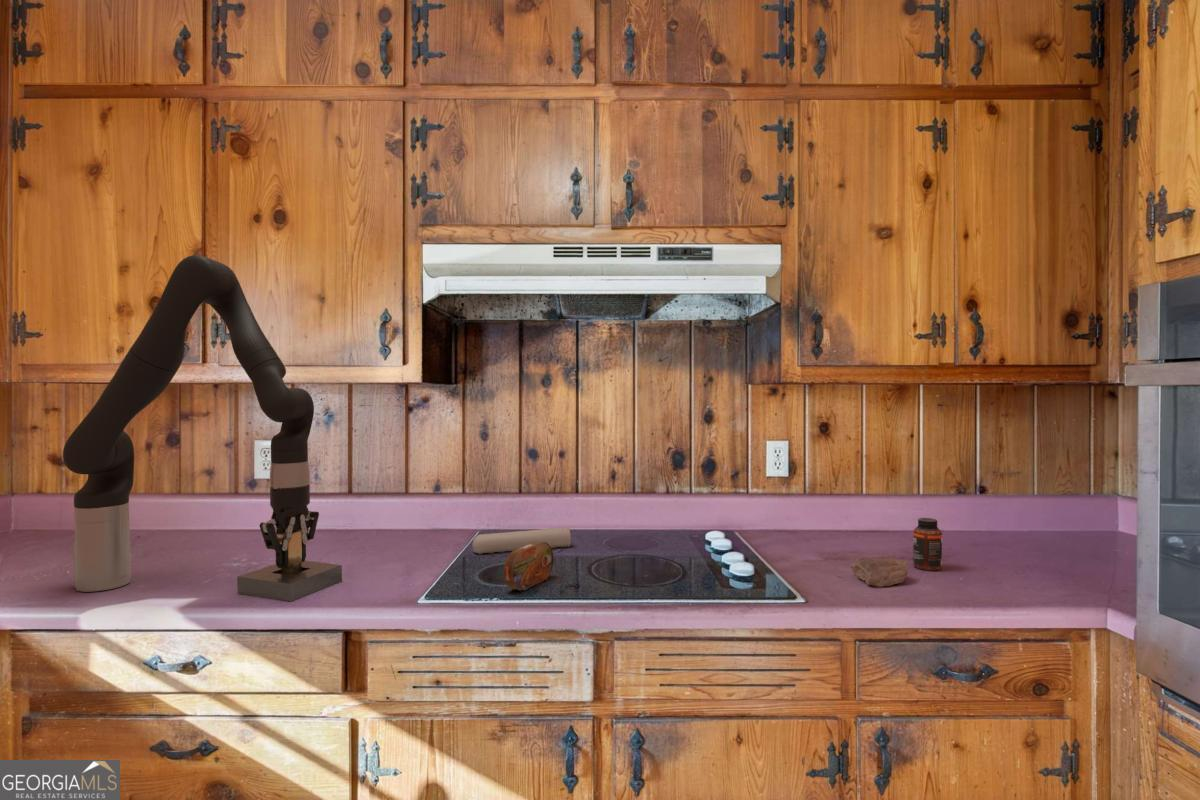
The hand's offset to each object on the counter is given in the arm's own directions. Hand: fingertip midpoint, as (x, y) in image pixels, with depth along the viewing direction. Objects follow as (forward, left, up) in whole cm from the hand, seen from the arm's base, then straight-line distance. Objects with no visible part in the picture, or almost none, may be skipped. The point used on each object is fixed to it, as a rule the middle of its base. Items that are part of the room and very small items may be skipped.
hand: (291, 564), depth 136 cm
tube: (+31, +44, -5) cm, 54 cm away
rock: (+116, +48, -5) cm, 125 cm away
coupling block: (0, 0, -5) cm, 5 cm away
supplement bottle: (+127, +62, -5) cm, 141 cm away
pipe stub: (0, 0, -2) cm, 2 cm away
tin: (+46, +19, -5) cm, 50 cm away
